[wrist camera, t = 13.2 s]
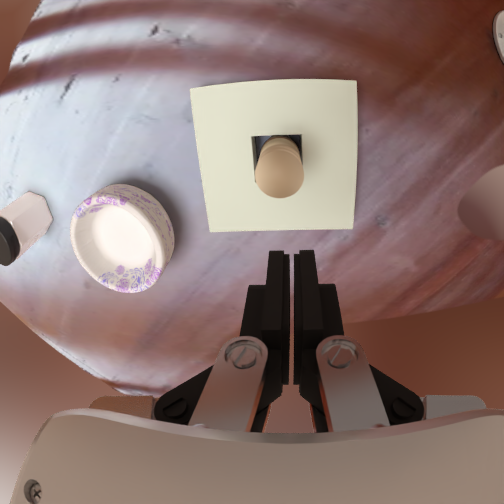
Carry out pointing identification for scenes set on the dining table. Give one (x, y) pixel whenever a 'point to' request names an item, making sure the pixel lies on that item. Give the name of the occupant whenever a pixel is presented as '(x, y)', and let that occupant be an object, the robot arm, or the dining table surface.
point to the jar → (22, 225)
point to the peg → (279, 167)
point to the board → (277, 123)
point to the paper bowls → (122, 238)
